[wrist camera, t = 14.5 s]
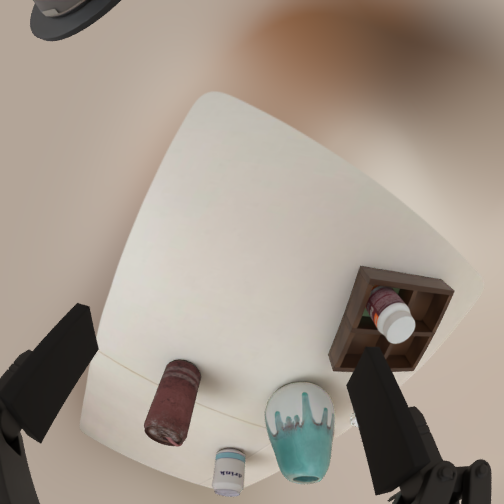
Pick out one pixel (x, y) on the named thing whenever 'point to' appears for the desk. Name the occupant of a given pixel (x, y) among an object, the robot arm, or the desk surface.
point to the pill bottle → (390, 314)
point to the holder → (366, 333)
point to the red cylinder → (173, 404)
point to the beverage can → (229, 472)
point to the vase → (301, 431)
